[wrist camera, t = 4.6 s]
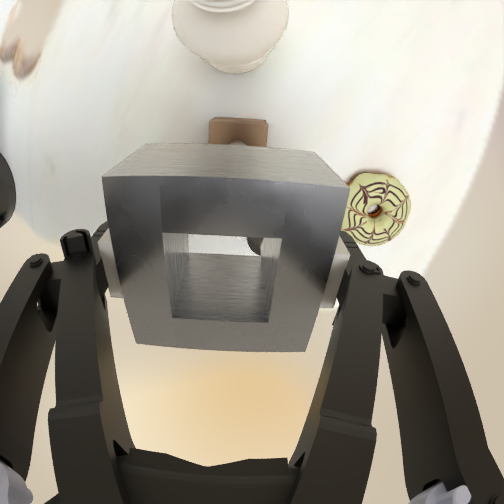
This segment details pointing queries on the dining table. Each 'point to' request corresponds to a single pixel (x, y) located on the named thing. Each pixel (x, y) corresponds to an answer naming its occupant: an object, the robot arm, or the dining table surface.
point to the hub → (255, 244)
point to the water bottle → (230, 30)
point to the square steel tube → (226, 224)
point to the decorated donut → (385, 219)
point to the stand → (238, 131)
